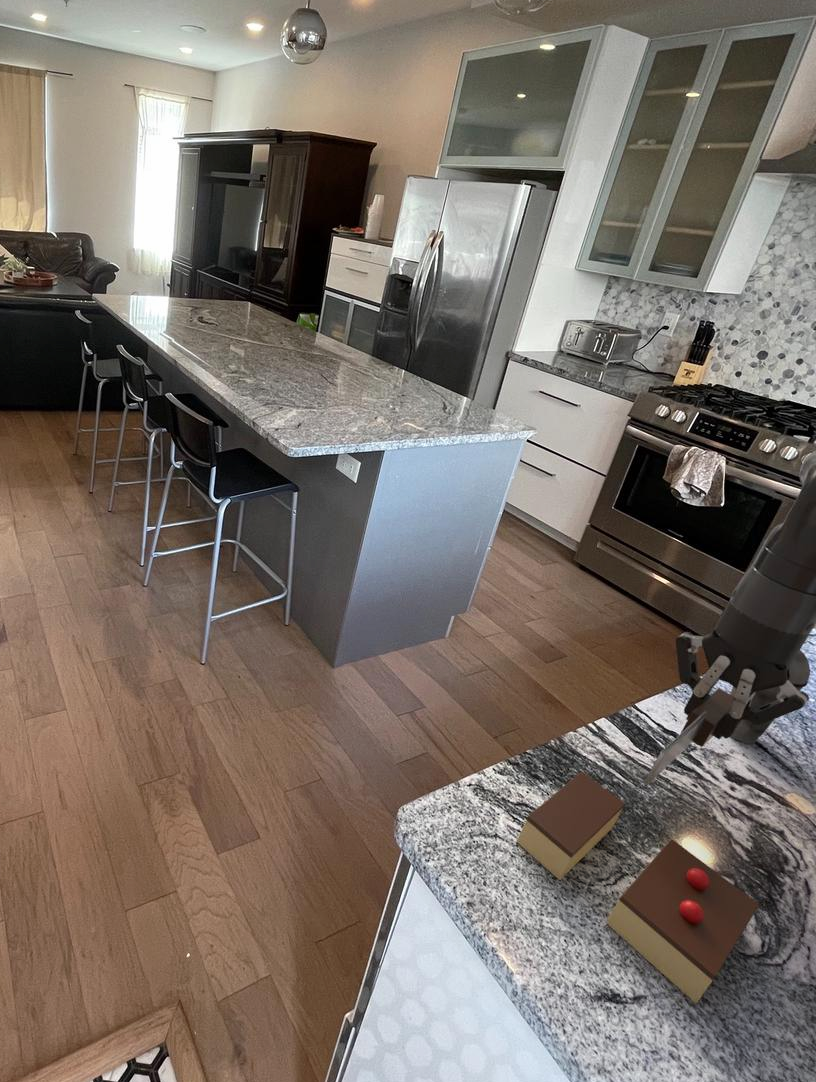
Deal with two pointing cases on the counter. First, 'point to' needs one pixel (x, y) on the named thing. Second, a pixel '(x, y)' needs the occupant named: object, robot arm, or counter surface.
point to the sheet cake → (682, 918)
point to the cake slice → (570, 824)
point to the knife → (694, 730)
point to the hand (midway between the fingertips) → (704, 726)
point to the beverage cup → (771, 700)
